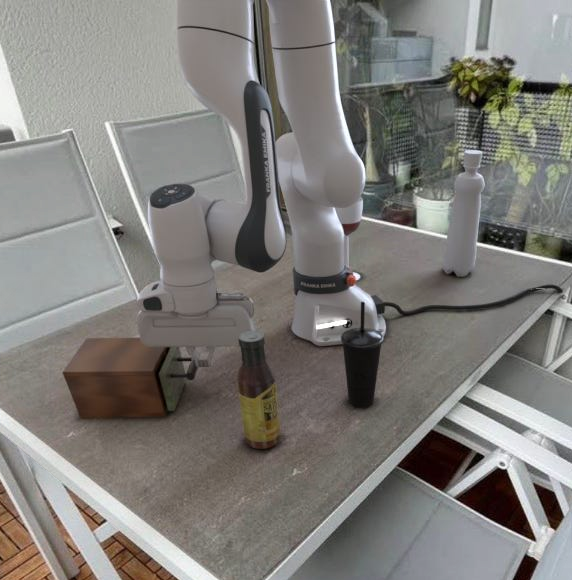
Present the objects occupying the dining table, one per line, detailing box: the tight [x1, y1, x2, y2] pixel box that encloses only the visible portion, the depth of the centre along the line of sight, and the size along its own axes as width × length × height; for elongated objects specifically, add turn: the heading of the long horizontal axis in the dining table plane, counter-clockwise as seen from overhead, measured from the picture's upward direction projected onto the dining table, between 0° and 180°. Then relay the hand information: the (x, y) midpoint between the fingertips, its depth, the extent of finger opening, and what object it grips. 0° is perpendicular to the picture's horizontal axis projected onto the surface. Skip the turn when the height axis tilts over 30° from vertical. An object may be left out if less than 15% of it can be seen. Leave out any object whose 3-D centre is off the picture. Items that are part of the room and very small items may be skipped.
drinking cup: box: [341, 302, 384, 409], centre depth 100 cm, size 8×8×20 cm
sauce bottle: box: [237, 330, 281, 450], centre depth 91 cm, size 7×6×20 cm
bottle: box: [441, 149, 486, 278], centre depth 147 cm, size 9×9×30 cm
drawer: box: [155, 347, 199, 412], centre depth 104 cm, size 19×12×8 cm, turn 92°
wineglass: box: [335, 196, 364, 281], centre depth 147 cm, size 8×9×20 cm
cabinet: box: [62, 337, 171, 419], centre depth 104 cm, size 16×13×10 cm
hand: (204, 365), depth 103 cm, fingers closed
